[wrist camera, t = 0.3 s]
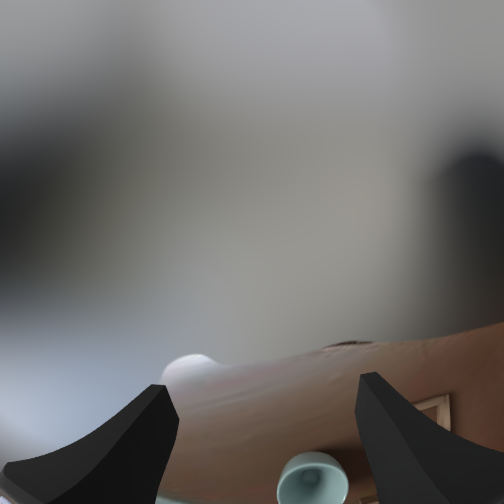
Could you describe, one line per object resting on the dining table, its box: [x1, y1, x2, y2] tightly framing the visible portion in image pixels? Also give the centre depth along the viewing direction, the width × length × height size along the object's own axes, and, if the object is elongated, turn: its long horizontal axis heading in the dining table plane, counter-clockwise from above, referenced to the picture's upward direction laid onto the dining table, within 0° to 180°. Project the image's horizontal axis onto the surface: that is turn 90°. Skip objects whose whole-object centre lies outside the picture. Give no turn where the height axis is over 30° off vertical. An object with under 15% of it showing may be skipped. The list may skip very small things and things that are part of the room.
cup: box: [277, 451, 349, 504], centre depth 24 cm, size 8×8×10 cm
